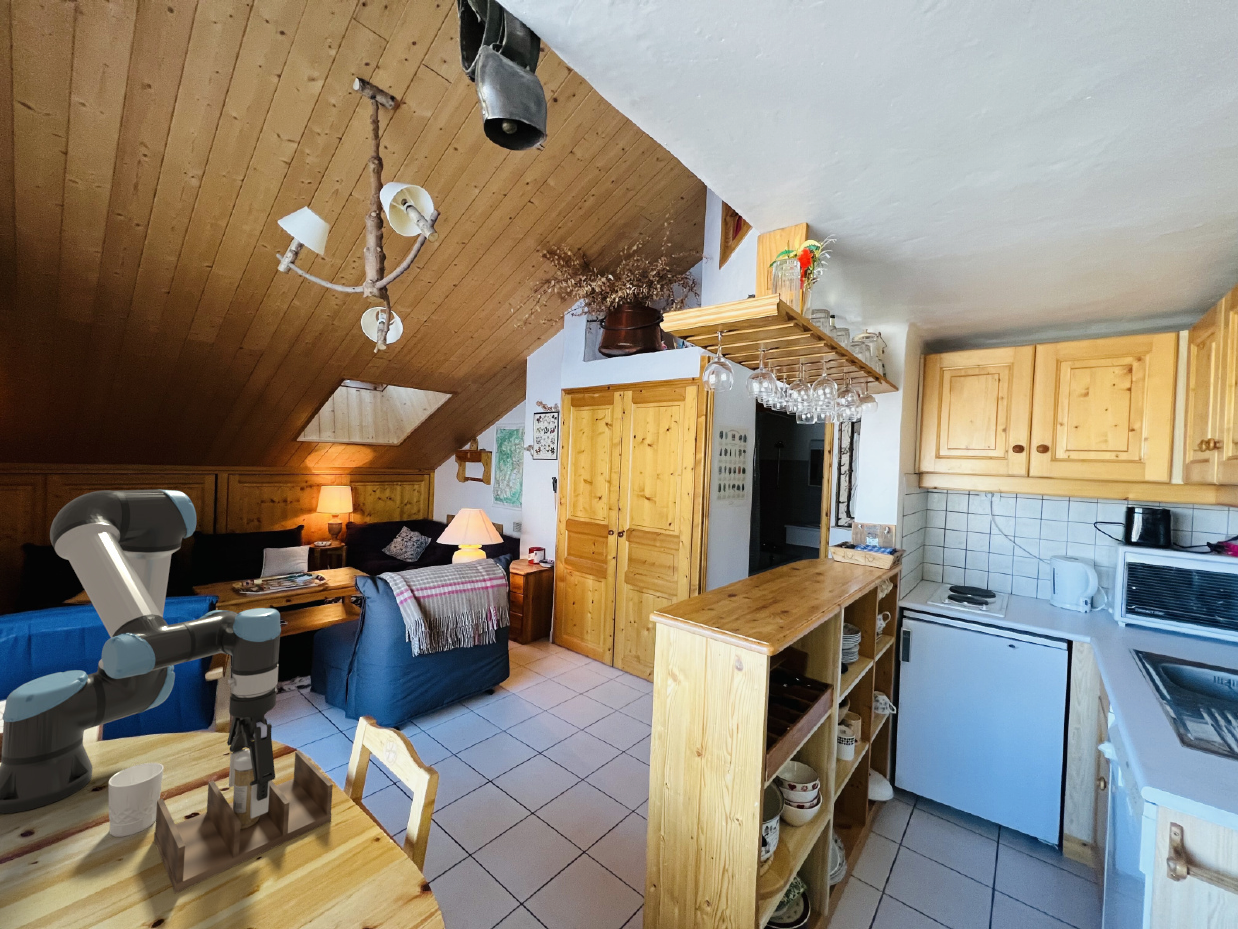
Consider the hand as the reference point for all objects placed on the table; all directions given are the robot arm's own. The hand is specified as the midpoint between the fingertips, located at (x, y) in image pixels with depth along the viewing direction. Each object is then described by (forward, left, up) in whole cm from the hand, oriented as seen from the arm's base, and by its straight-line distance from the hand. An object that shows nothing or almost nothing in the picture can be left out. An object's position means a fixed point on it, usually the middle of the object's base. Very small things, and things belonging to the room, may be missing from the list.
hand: (247, 798), depth 101 cm
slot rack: (0, 0, -6) cm, 6 cm away
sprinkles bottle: (0, 0, -5) cm, 5 cm away
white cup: (-17, -14, -6) cm, 23 cm away
